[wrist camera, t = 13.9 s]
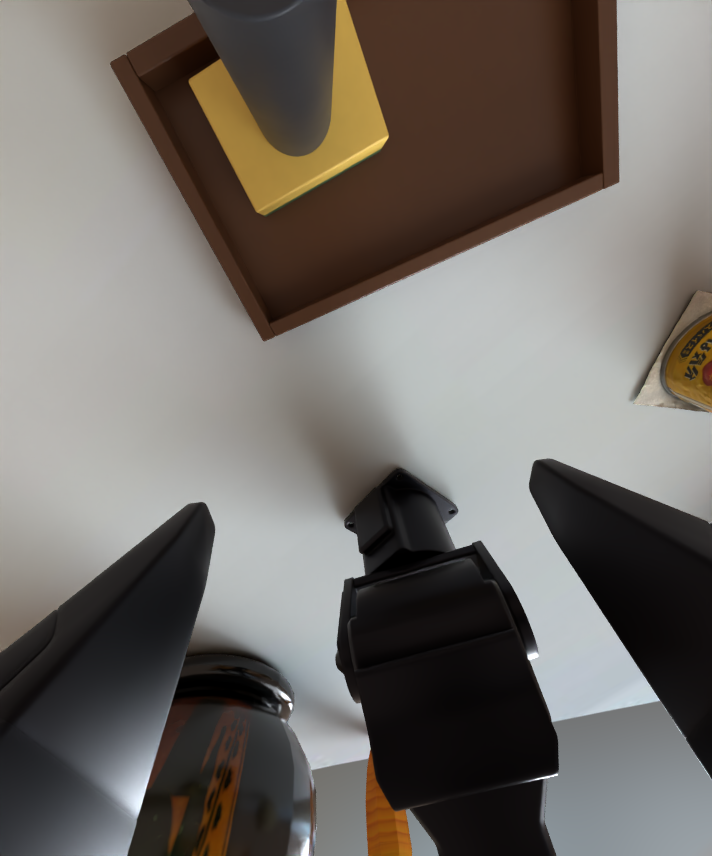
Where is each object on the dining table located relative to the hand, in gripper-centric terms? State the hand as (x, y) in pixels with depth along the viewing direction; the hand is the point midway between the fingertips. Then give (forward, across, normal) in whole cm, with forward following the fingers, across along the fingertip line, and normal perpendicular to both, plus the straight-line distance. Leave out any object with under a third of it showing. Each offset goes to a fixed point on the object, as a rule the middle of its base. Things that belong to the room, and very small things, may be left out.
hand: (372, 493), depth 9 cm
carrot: (+13, +1, +51) cm, 53 cm away
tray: (+12, -3, -10) cm, 16 cm away
